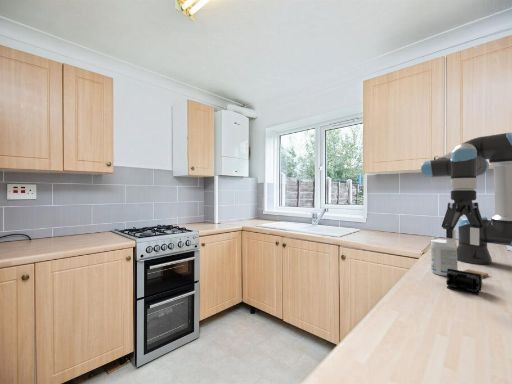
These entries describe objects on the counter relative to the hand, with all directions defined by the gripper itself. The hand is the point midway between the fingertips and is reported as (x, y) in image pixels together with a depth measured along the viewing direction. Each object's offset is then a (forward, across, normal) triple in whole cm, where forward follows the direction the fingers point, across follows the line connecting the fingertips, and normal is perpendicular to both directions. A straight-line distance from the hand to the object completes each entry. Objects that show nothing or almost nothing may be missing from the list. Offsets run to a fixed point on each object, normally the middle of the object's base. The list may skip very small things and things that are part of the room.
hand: (463, 246), depth 96 cm
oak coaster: (+16, -23, -9) cm, 30 cm away
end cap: (+17, 0, 0) cm, 17 cm away
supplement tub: (+16, -12, -15) cm, 26 cm away
